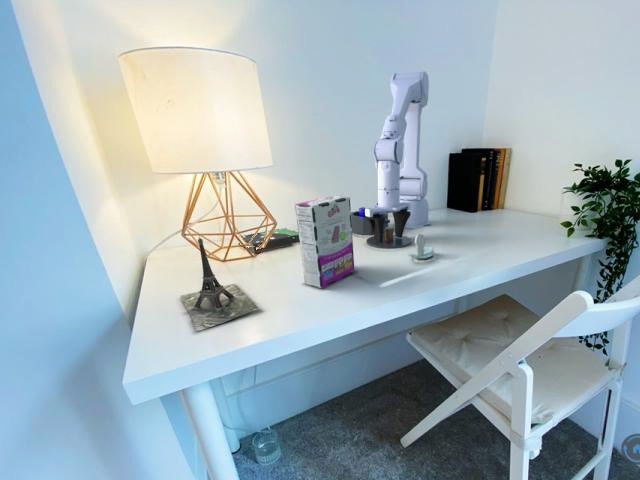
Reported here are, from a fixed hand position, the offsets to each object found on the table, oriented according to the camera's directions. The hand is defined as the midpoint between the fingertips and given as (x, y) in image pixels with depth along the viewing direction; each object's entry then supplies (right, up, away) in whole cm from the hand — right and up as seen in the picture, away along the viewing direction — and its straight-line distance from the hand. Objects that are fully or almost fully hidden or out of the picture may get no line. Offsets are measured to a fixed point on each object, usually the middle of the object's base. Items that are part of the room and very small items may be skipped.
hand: (388, 239), depth 95 cm
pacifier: (+8, -7, -12) cm, 16 cm away
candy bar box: (-13, -12, -22) cm, 28 cm away
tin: (-6, +4, +13) cm, 15 cm away
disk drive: (-33, -1, +2) cm, 33 cm away
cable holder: (-5, +8, +10) cm, 14 cm away
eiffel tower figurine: (-31, -17, -34) cm, 49 cm away
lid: (0, -1, 0) cm, 1 cm away
